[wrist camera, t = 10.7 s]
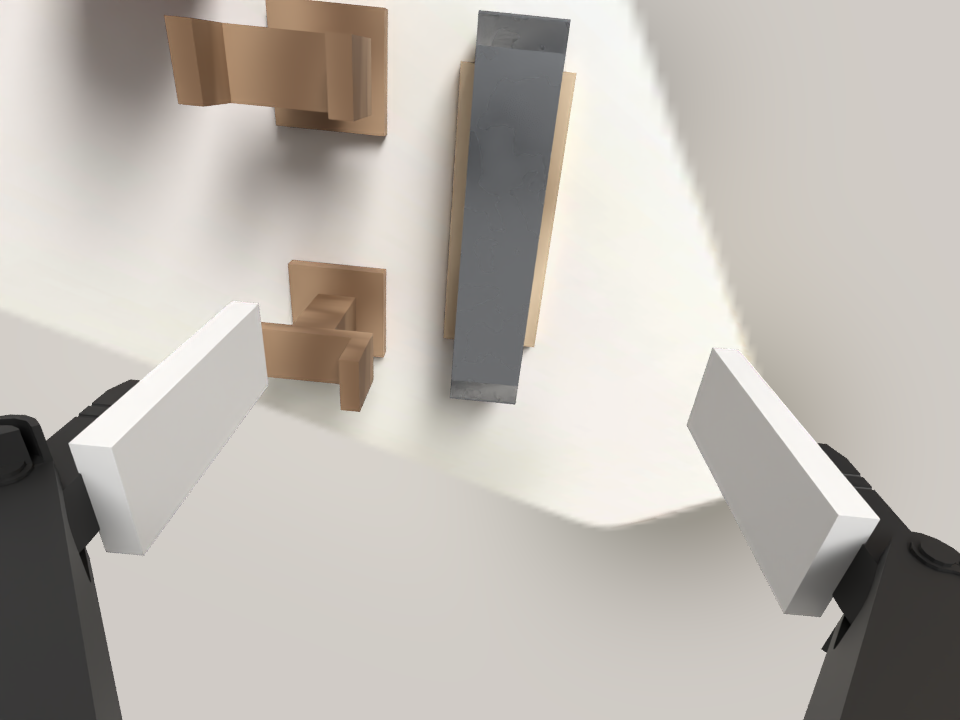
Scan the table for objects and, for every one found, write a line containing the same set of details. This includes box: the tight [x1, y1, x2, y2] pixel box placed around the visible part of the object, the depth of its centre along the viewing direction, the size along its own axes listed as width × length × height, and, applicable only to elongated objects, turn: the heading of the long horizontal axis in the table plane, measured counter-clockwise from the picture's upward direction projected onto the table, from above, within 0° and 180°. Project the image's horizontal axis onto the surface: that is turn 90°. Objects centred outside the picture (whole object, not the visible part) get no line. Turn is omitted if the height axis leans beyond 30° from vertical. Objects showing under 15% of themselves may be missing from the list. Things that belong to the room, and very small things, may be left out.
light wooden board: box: [443, 61, 576, 347], centre depth 32 cm, size 6×16×1 cm, turn 175°
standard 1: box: [261, 260, 386, 412], centre depth 32 cm, size 7×6×10 cm
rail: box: [450, 10, 570, 404], centre depth 30 cm, size 4×20×4 cm, turn 175°
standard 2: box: [164, 0, 388, 136], centre depth 25 cm, size 7×6×10 cm
